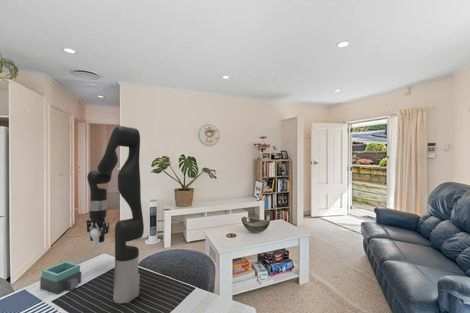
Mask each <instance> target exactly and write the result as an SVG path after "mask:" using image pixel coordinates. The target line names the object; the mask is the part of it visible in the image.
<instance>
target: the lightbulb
mask: <svg viewBox="0 0 470 313" xmlns="http://www.w3.org/2000/svg"><path fill="white" fill-rule="evenodd" d="M100 229H102V228H100ZM102 231H103V230H101V232H102ZM90 235H91V237H92V239H93V241H92V242H93V248H94V249H99V248H100V247H101V243H100V242H99V235H100V234H99V231H97V228H93V229H92V231H91V233H89V236H90Z"/></svg>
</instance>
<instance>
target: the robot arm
mask: <svg viewBox="0 0 470 313" xmlns="http://www.w3.org/2000/svg"><path fill="white" fill-rule="evenodd" d="M118 147H123V148H124V147H126V148H128V155H127V158H126V161H125V162H124V164H123V165H122V167H121V168H120V170H119V172H118V174H117V190H118V192H119V194H120V196H121V198H123V200H124V201H125V203H126V204H127V205H128V206H129V209H130V211H131V216H132V218H128V219H121V220H118V221H117V222H116V223H115V226H114V253H115V254H114V270H113V271H114V272H113V276H114V277H113V295H112V296H113V297H112V298H113V302H114V303H116V304H129V303H130V302H131V301H133V300H134V299H136V298H137V297H138V296H139V295H140V279H141V278H140V277H141V276H140V275H141V274H140V272H139V255H140V254H139V253H140V250H139V247H137V246H135V245H134V246H133V245H128V244H127V242H131V241H134V240H135V241H136V240H140V239H141V238H142V237H143V236H144V229H145V228H144V227H145V224H144V216H143V209H142V199H141V198H142V196H141V192H142V191H141V173H140V172H141V171H140V167H141V166H140V154H141V152H140V149H141V134H140V132H139V129H137V128H134V127H127V126H123V125H117V126H115V127H114V128H113V130H112V132H111V134H110V138H109V140H108V142H107V145H106V149H105V152H104V155H103V157H102V158H101V159H100V162H99V163H98V165H97V170H91V171H89V172H88V174H87V182H88V185H89V186H88V187H89V189H90V203H89V216H88V217H89V219H88V220H86V232H87V233H89V241H90V242H93V239H92V237H91V235H90V233H91V231H92V229H93V228H97V231H99V234H100V235H99V242H100V244H101V243H104V242H105V237H106V236H105V235H106V234H108V233H109V228H110V222H109V221H107V222H106V219H105V218H107V212H108V211H107V210H108V208H107V207H108V204H107V197H108V196H107V192H108V191H107V189H106V188H101V187H99V186H98V185H105V184H108V183H110V182H111V180H112V174H113V171H114V170H115V167H116V166H117V165H118V161H119V156H118V153H117V148H118ZM100 228H102V229H100ZM101 230H103V231H102V232H101Z"/></svg>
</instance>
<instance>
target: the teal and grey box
mask: <svg viewBox="0 0 470 313" xmlns="http://www.w3.org/2000/svg"><path fill="white" fill-rule="evenodd" d="M39 280H40V282H39V288H40V289H41V290H45V291H46V292H49V293H51V294H55V295H59V294H61V293H63V292H66V291H67V290H72V289H75V288H76V287H78V285H79V284H81V282H82V271H81V265H80V264H77V263H73V262H71V261H70V262H69V261H64V262H61V263H58V264H57V265H53V266H51V267H48V268H46V269H43V270H42V272H41V276H40V279H39Z"/></svg>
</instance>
